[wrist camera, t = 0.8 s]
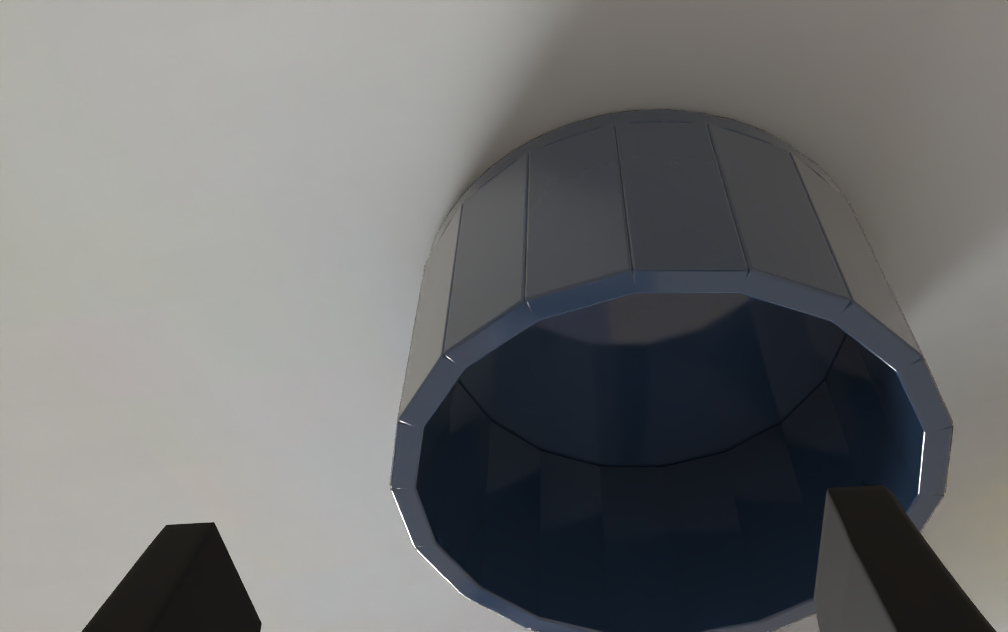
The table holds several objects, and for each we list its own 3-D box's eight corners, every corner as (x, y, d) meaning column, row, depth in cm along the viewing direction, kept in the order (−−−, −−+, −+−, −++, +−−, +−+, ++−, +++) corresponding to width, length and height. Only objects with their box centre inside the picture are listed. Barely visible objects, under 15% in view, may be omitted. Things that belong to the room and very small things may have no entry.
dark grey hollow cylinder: (898, 406, 23) (978, 596, 19) (512, 496, 26) (505, 682, 21) (828, 36, 18) (919, 184, 13) (344, 198, 20) (289, 368, 16)
